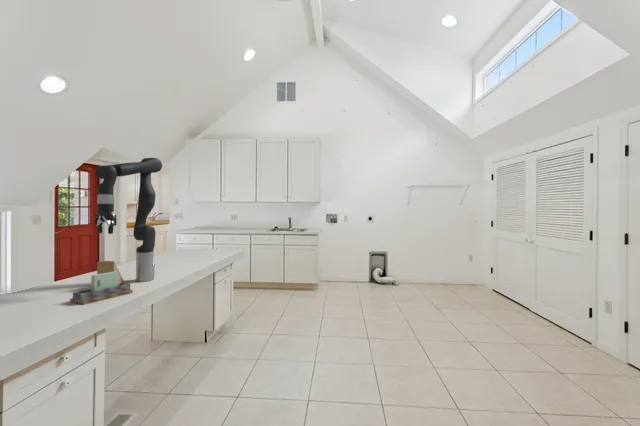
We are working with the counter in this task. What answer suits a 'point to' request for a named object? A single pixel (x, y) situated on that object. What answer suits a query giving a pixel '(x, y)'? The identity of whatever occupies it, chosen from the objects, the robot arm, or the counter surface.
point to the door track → (100, 294)
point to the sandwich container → (108, 268)
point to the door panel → (104, 280)
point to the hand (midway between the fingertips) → (105, 233)
